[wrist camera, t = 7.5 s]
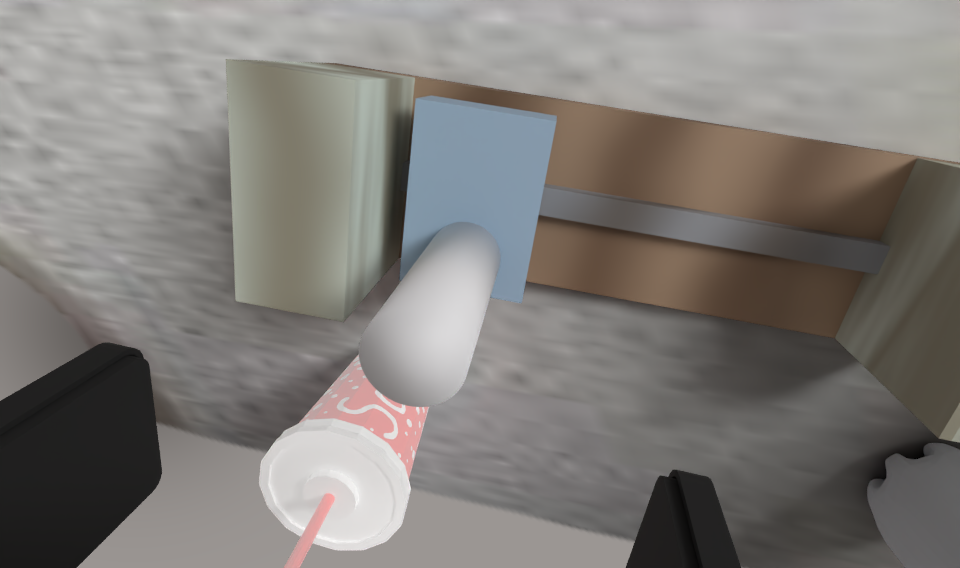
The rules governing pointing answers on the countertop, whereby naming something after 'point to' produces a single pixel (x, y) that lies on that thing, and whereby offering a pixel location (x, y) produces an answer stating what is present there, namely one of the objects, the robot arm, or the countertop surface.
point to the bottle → (920, 507)
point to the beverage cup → (343, 468)
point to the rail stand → (615, 217)
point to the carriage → (457, 243)
